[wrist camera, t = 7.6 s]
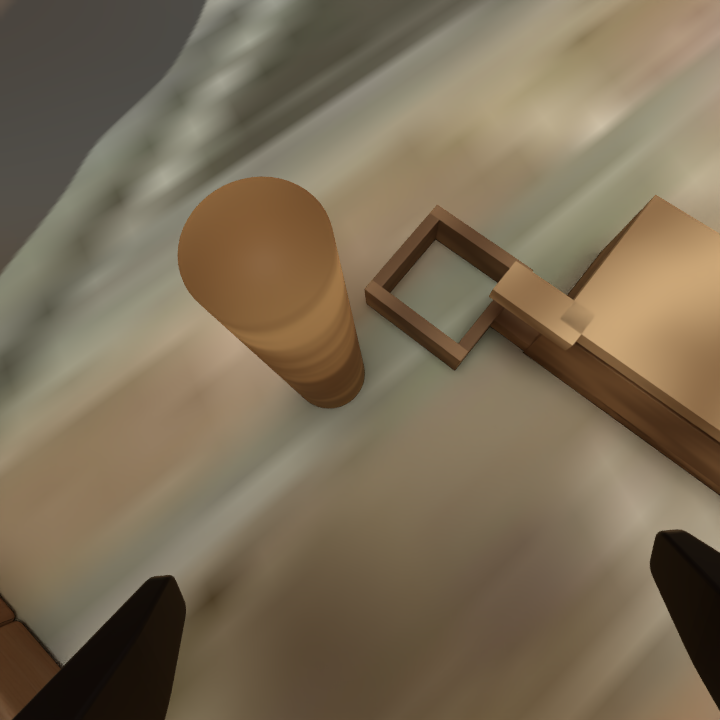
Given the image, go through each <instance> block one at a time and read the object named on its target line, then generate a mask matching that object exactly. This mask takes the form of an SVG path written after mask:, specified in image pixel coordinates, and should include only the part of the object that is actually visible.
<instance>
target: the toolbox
mask: <svg viewBox="0 0 720 720" xmlns="http://www.w3.org/2000/svg"><path fill="white" fill-rule="evenodd" d="M641 211H642V210H641ZM641 211H640V212H641ZM640 212H639V213H640ZM639 213H638V214H637V215H636V216H635V217H634V218H633V219H632V220H631V221H630V222H629V223H628V224H627V225H626V226H625V227H624V228H623V229H622V231H621V232H620V233H619V234H618V235H617V236H616V237H615V238H614V239H613V240H612V241H611V242H610V243H609V244H608V245H607V246H606V247H605V248H604V249H603V250H602V251H601V253H600V254H599V255H598V256H597V258H596V259H595V260H594V262H593V263H592V264H591V265H590V267H589V268H588V269H587V271H586V272H585V273H584V274H583V276H582V277H581V278H580V280H579V281H578V282H577V283H576V285H575V286H574V287H573V289H572V290H571V291H570V292H569V294H568V295H567V296H568V297H570V298H571V299H574V297H575V296H576V295H577V293H578V292H579V291H580V290H581V288H582V287H583V286H584V284H585V283H586V282H587V281H588V279H589V278H590V277H591V275H592V274H593V273H594V271H595V270H596V269H597V268H598V266H599V265H600V264H601V262H602V261H603V260H604V259H605V257H606V256H607V255H608V253H609V252H610V251H611V249H612V248H613V247H614V246H615V244H616V243H617V242H618V240H619V239H620V238H621V237H622V235H623V234H624V233H625V231H626V230H627V229H628V227H629V226H630V225H631V224H632V222H633V221H634V220H635V218H636V217H637V216H638V215H639ZM435 239H437V240H438V241H439V242H441V243H442V244H444V245H445V246H447V247H448V248H449V249H451V250H452V251H454V252H455V253H456V254H458V255H459V256H461V257H462V258H464V259H465V260H466V261H468V262H469V263H471V264H472V265H474V266H475V267H476V268H478V269H479V270H481V271H482V272H484V273H485V274H486V275H488V276H489V277H491V278H492V279H494V280H495V281H496V282H499V281H500V280H501V279H502V278H503V276H504V275H505V274H506V273H507V271H508V270H509V269H510V268H511V266H512V265H513V264H514V263H515V261H517V262H518V263H520V264H521V265H523V266H524V267H526V268H527V269H529V270H530V271H533V270H532V269H531V268H529V267H528V266H526V265H525V264H523V263H522V262H520V261H519V260H518V259H516V258H515V257H513V256H512V255H510V254H509V253H507V252H506V251H504V250H503V249H501V248H500V247H499V246H497V245H496V244H494V243H493V242H491V241H490V240H488V239H487V238H485V237H484V236H482V235H481V234H479V233H478V232H477V231H475V230H474V229H472V228H471V227H469V226H468V225H466V224H465V223H463V222H462V221H460V220H459V219H457V218H456V217H455V216H453V215H452V214H450V213H449V212H447V211H446V210H444V209H443V208H441V207H440V206H438V205H436V207H435V208H434V209H433V210H432V211H431V212H430V214H429V215H428V216H427V217H426V218H425V219H424V221H423V222H422V223H421V224H420V225H419V226H418V228H417V229H416V230H415V231H414V232H413V233H412V234H411V236H410V237H409V238H408V239H407V240H406V241H405V243H404V244H403V245H402V246H401V247H400V248H399V250H398V251H397V252H396V253H395V254H394V255H393V256H392V258H391V259H390V260H389V261H388V262H387V263H386V265H385V266H384V267H383V268H382V269H381V270H380V272H379V273H378V274H377V275H376V276H375V277H374V279H373V280H372V281H371V282H370V283H369V284H368V285H367V287H366V288H365V297H366V303H367V304H368V305H369V306H371V307H372V308H373V309H375V310H376V311H377V312H378V313H380V314H381V315H382V316H384V317H385V318H386V319H388V320H389V321H390V322H392V323H393V324H394V325H396V326H397V327H398V328H400V329H401V330H402V331H403V332H405V333H406V334H407V335H409V336H410V337H411V338H413V339H414V340H415V341H417V342H418V343H419V344H421V345H422V346H423V347H425V348H426V349H427V350H428V351H430V352H431V353H432V354H434V355H435V356H436V357H438V358H439V359H440V360H442V361H443V362H444V363H446V364H447V365H448V366H450V367H451V368H452V369H453V370H456V368H457V367H458V366H459V365H460V363H461V362H462V361H463V360H464V358H465V357H466V356H467V355H468V353H469V352H470V351H471V350H472V348H473V347H474V346H475V344H476V343H477V342H478V341H479V339H480V338H481V337H482V336H483V334H484V333H485V332H486V331H487V329H488V328H489V327H490V326H491V327H492V328H493V329H495V330H496V331H497V332H499V333H500V334H502V335H503V336H504V337H506V338H507V339H509V340H510V341H511V342H513V343H514V344H515V345H517V346H518V347H520V348H521V349H522V350H524V352H523V353H525V354H526V355H527V356H529V357H530V358H532V359H533V360H534V361H536V362H537V363H538V364H540V365H541V366H543V367H544V368H545V369H547V370H548V371H549V372H551V373H552V374H554V375H555V376H556V377H558V378H559V379H560V380H562V381H563V382H565V383H566V384H567V385H569V386H570V387H571V388H573V389H574V390H576V391H577V392H578V393H580V394H581V395H583V396H584V397H585V398H587V399H588V400H589V401H591V402H592V403H594V404H595V405H596V406H598V407H599V408H600V409H602V410H603V411H605V412H606V413H607V414H609V415H610V416H611V417H613V418H614V419H616V420H617V421H618V422H620V423H621V424H622V425H624V426H625V427H627V428H628V429H629V430H631V431H632V432H634V433H635V434H636V435H638V436H639V437H640V438H642V439H643V440H645V441H646V442H647V443H649V444H650V445H651V446H653V447H654V448H656V449H657V450H658V451H660V452H661V453H662V454H664V455H665V456H667V457H668V458H669V459H671V460H672V461H673V462H675V463H676V464H678V465H679V466H680V467H682V468H683V469H684V470H686V471H687V472H689V473H690V474H691V475H693V476H694V477H696V478H697V479H698V480H700V481H701V482H702V483H704V484H705V485H707V486H708V487H709V488H711V489H712V490H713V491H715V492H716V493H718V494H719V495H720V442H719V441H717V440H716V439H714V438H713V437H711V436H710V435H709V434H707V433H706V432H704V431H703V430H701V429H700V428H699V427H697V426H696V425H694V424H693V423H691V422H690V421H689V420H687V419H686V418H684V417H683V416H682V415H680V414H679V413H677V412H676V411H674V410H673V409H672V408H670V407H669V406H667V405H666V404H664V403H663V402H662V401H660V400H659V399H657V398H656V397H654V396H653V395H652V394H650V393H649V392H647V391H646V390H644V389H643V388H642V387H640V386H639V385H637V384H636V383H635V382H633V381H632V380H630V379H629V378H627V377H626V376H625V375H623V374H622V373H620V372H619V371H617V370H616V369H615V368H613V367H612V366H610V365H609V364H607V363H606V362H605V361H603V360H602V359H600V358H599V357H598V356H596V355H595V354H593V353H592V352H590V351H589V350H588V349H586V348H585V347H583V346H582V345H580V344H579V343H578V342H575V343H574V344H573V346H571V347H570V348H568V349H567V350H566V351H565V350H563V349H562V348H561V347H559V346H558V345H556V344H555V343H554V342H552V341H551V340H549V339H548V338H547V337H545V336H544V335H542V334H541V333H540V332H538V331H537V330H535V329H534V328H533V327H531V326H530V325H528V324H527V323H525V322H524V321H523V320H521V319H520V318H518V317H517V316H516V315H514V314H513V313H511V312H510V311H509V310H507V309H506V308H504V307H503V306H502V305H500V304H499V303H497V302H496V301H495V300H493V301H492V302H491V304H490V305H489V306H488V307H487V308H486V310H485V311H484V312H483V313H482V315H481V316H480V317H479V318H478V320H477V321H476V322H475V323H474V325H473V326H472V327H471V328H470V330H469V331H468V332H467V333H466V335H465V336H464V337H463V338H462V340H461V341H460V342H459V343H456V342H455V341H454V340H452V339H451V338H450V337H448V336H447V335H445V334H444V333H443V332H441V331H440V330H439V329H437V328H436V327H435V326H433V325H432V324H431V323H429V322H428V321H427V320H425V319H424V318H423V317H421V316H420V315H419V314H417V313H416V312H415V311H413V310H412V309H411V308H409V307H408V306H407V305H405V304H404V303H403V302H401V301H400V300H399V299H397V298H396V297H394V296H393V295H392V294H390V292H391V291H392V289H393V288H394V287H395V286H396V285H397V284H398V282H399V281H400V280H401V279H402V278H403V277H404V275H405V274H406V273H407V272H408V271H409V269H410V268H411V267H412V266H413V265H414V264H415V262H416V261H417V260H418V259H419V258H420V257H421V255H422V254H423V253H424V252H425V251H426V250H427V248H428V247H429V246H430V245H431V244H432V242H433V241H434V240H435Z"/></svg>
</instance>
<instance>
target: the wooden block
mask: <svg viewBox="0 0 720 720" xmlns="http://www.w3.org/2000/svg"><path fill="white" fill-rule="evenodd" d="M14 618H15V616H14V613H13V612H12V610H11V609H10V608H9V607H8V606H7V605H6V603H5V602H4V601H3V600H2V599H1V598H0V720H12V719H13V718H14V717H15V716H16V715H17V714H18V713H19V712H20V710H21V709H22V708H23V707H24V706H25V705H26V704H27V703H28V702H29V701H30V700H31V699H32V698H33V697H34V696H35V695H36V694H37V693H38V692H39V691H40V690H41V689H42V688H43V687H44V686H45V685H46V684H47V683H48V682H49V681H50V680H51V679H52V678H53V676H54V675H55V674H56V673H57V672H58V671H59V670H60V669H61V668H60V667H59V666H58V665H57V664H56V663H55V661H54V660H53V659H52V658H51V657H50V656H49V654H48V653H47V652H46V651H45V650H44V649H43V647H42V646H41V645H40V644H39V643H38V642H37V640H36V639H35V638H34V637H33V636H32V635H31V633H30V632H29V631H28V630H27V629H26V628H25V627H24V625H23V624H22V623H20V622H18V621H14V622H13V620H14Z"/></svg>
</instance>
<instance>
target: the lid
mask: <svg viewBox="0 0 720 720" xmlns="http://www.w3.org/2000/svg"><path fill="white" fill-rule="evenodd" d="M489 297H490V298H492V299H493V300H495V301H496V302H497V303H499V304H500V305H502V306H503V307H504V308H506V309H507V310H509V311H510V312H511V313H513V314H514V315H516V316H517V317H518V318H520V319H521V320H523V321H524V322H525V323H527V324H528V325H530V326H531V327H533V328H534V329H535V330H537V331H538V332H540V333H541V334H542V335H544V336H545V337H547V338H548V339H549V340H551V341H552V342H554V343H555V344H556V345H558V346H559V347H561V348H562V349H563V350H565V351H566V350H567V349H568V348H570V347H571V346H573V344H574V343H575V342H578V343H579V344H580V345H582V346H583V347H585V348H586V349H588V350H589V351H590V352H592V353H593V354H595V355H596V356H598V357H599V358H600V359H602V360H603V361H605V362H606V363H607V364H609V365H610V366H612V367H613V368H615V369H616V370H617V371H619V372H620V373H622V374H623V375H625V376H626V377H627V378H629V379H630V380H632V381H633V382H635V383H636V384H637V385H639V386H640V387H642V388H643V389H644V390H646V391H647V392H649V393H650V394H652V395H653V396H654V397H656V398H657V399H659V400H660V401H662V402H663V403H664V404H666V405H667V406H669V407H670V408H672V409H673V410H674V411H676V412H677V413H679V414H680V415H682V416H683V417H684V418H686V419H687V420H689V421H690V422H691V423H693V424H694V425H696V426H697V427H699V428H700V429H701V430H703V431H704V432H706V433H707V434H709V435H710V436H711V437H713V438H714V439H716V440H717V441H719V442H720V234H719V233H717V232H716V231H714V230H713V229H711V228H709V227H708V226H706V225H704V224H703V223H701V222H699V221H698V220H696V219H695V218H693V217H691V216H690V215H688V214H686V213H685V212H683V211H681V210H680V209H678V208H677V207H675V206H673V205H672V204H670V203H668V202H667V201H665V200H663V199H662V198H660V197H658V196H657V195H655V196H654V197H653V198H652V199H651V200H650V201H649V202H648V203H647V204H646V205H645V207H644V208H643V209H642V211H641V212H640V213H639V215H638V216H637V217H636V218H635V220H634V221H633V222H632V224H631V225H630V226H629V227H628V229H627V230H626V231H625V233H624V234H623V235H622V237H621V238H620V239H619V240H618V242H617V243H616V244H615V246H614V247H613V248H612V249H611V251H610V252H609V253H608V255H607V256H606V257H605V259H604V260H603V261H602V262H601V264H600V265H599V266H598V268H597V269H596V270H595V271H594V273H593V274H592V275H591V277H590V278H589V279H588V281H587V282H586V283H585V284H584V286H583V287H582V288H581V290H580V291H579V292H578V293H577V295H576V296H575V297H574V299H571V298H570V297H568V296H567V295H565V294H564V293H562V292H561V291H559V290H558V289H556V288H555V287H554V286H552V285H551V284H549V283H548V282H546V281H545V280H543V279H542V278H540V277H539V276H537V275H536V274H535V273H533V272H532V271H530V270H529V269H527V268H526V267H524V266H523V265H521V264H520V263H518V262H517V261H515V263H514V264H513V265H512V266H511V268H510V269H509V270H508V271H507V273H506V274H505V275H504V276H503V278H502V279H501V280H500V281H499V282H498V284H497V285H496V286H495V287H494V289H493V290H492V292H491V294H490V295H489Z"/></svg>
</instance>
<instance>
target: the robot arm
mask: <svg viewBox="0 0 720 720" xmlns="http://www.w3.org/2000/svg"><path fill="white" fill-rule="evenodd" d="M650 569H651V573H652V576H653V578H654V581H655V583H656V585H657V587H658V589H659V591H660V594H661V596H662V598H663V600H664V602H665V605H666V607H667V609H668V611H669V613H670V616H671V618H672V620H673V622H674V624H675V626H676V629H677V631H678V633H679V635H680V637H681V640H682V642H683V644H684V646H685V648H686V650H687V652H688V655H689V657H690V659H691V661H692V663H693V665H694V666H695V668H696V670H697V672H698V674H699V676H700V677H701V679H702V681H703V683H704V684H705V686H706V688H707V690H708V691H709V693H710V695H711V697H712V698H713V700H714V702H715V703H716V705H717V707H718V709H719V710H720V552H718V551H716V550H715V549H713V548H712V547H710V546H708V545H707V544H705V543H704V542H702V541H700V540H699V539H697V538H696V537H694V536H693V535H691V534H689V533H688V532H686V531H683V530H666V531H660V532H658V533H657V534H656V537H655V541H654V545H653V550H652V554H651V559H650ZM185 616H186V605H185V601H184V599H183V596H182V594H181V591H180V589H179V587H178V584H177V582H176V580H175V578H174V577H173V576H171V575H164V576H154V577H151V578H149V579H148V580H147V581H146V582H145V583H144V584H143V585H142V586H141V587H140V588H139V589H138V590H137V591H136V592H135V593H134V594H133V595H132V596H131V597H130V598H129V599H128V600H127V601H126V602H125V603H124V604H123V605H122V606H121V607H120V608H119V610H118V611H117V612H116V613H115V614H114V615H113V616H112V617H111V618H110V619H109V620H108V621H107V622H106V623H105V624H104V625H103V626H102V627H101V628H100V629H99V630H98V631H97V632H96V633H95V634H94V635H93V636H92V637H91V638H90V639H89V640H88V641H87V642H86V644H85V645H84V646H83V647H82V648H81V649H80V650H79V651H78V652H77V653H76V654H75V655H74V656H73V657H72V658H71V659H70V660H69V661H68V662H67V663H66V664H65V665H64V666H63V667H62V668H61V669H60V670H59V671H58V672H57V673H56V674H55V675H54V676H53V678H52V679H51V680H50V681H49V682H48V683H47V684H46V685H45V686H44V687H43V688H42V689H41V690H40V691H39V692H38V693H37V694H36V695H35V696H34V697H33V698H32V699H31V700H30V701H29V702H28V703H27V704H26V705H25V706H24V707H23V708H22V709H21V710H20V712H19V713H18V714H17V715H16V716H15V717H14V718H13V719H12V720H165V716H166V713H167V709H168V705H169V701H170V696H171V691H172V686H173V681H174V675H175V670H176V665H177V659H178V654H179V649H180V643H181V638H182V633H183V627H184V622H185Z"/></svg>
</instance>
